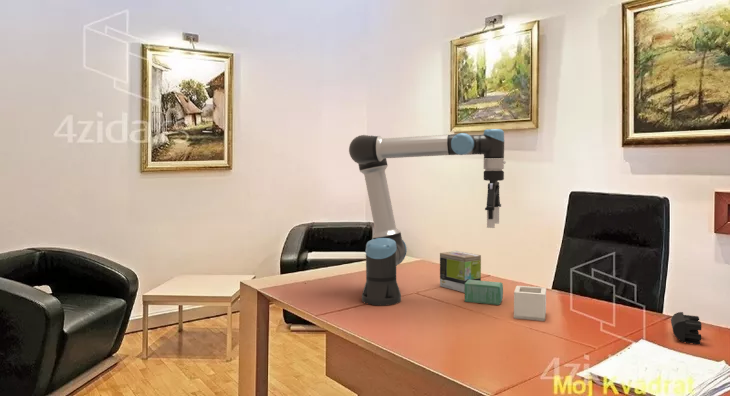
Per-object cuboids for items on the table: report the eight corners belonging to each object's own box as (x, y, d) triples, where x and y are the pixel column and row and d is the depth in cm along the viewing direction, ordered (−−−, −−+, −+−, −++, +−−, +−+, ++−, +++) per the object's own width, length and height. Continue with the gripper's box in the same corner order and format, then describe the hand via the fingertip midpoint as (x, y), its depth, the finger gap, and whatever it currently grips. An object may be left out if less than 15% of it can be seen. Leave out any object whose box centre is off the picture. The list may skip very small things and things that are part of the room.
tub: (513, 318, 179) (514, 292, 179) (516, 310, 189) (516, 285, 188) (544, 321, 176) (545, 294, 175) (545, 312, 185) (546, 287, 184)
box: (500, 305, 195) (500, 285, 195) (464, 302, 200) (464, 283, 200) (503, 300, 202) (503, 281, 201) (467, 297, 207) (467, 279, 206)
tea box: (481, 290, 218) (481, 254, 217) (464, 293, 213) (464, 257, 212) (456, 283, 231) (456, 249, 230) (439, 286, 225) (438, 252, 224)
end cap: (670, 332, 164) (671, 310, 164) (697, 335, 161) (698, 313, 160) (672, 342, 155) (673, 319, 155) (700, 345, 152) (701, 322, 151)
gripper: (499, 170, 187) (499, 230, 189) (507, 169, 211) (506, 222, 212) (478, 170, 190) (478, 229, 192) (488, 169, 213) (487, 221, 215)
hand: (493, 225), depth 202 cm, fingers open, 13 cm apart
